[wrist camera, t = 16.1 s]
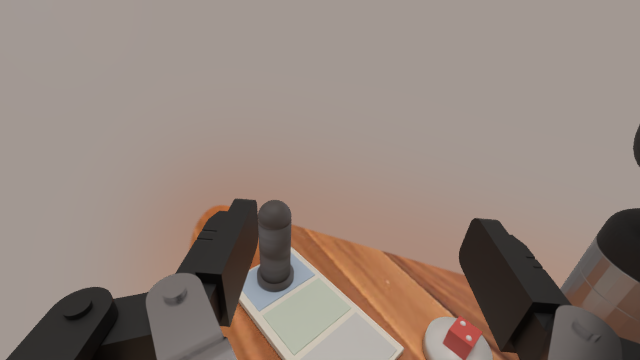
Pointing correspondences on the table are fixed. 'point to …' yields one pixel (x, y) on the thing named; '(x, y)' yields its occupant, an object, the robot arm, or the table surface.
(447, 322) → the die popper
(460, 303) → the table surface
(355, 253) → the table surface
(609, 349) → the robot arm
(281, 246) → the charcoal pawn
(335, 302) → the game board
